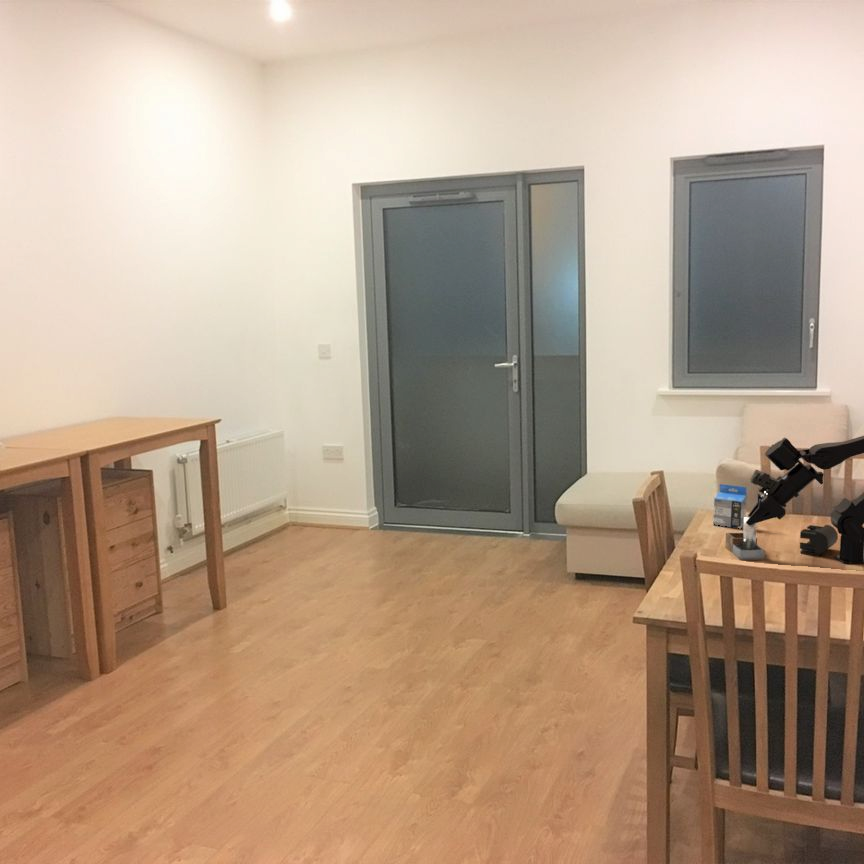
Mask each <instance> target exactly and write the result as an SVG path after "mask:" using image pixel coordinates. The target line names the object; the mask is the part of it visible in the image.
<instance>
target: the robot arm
mask: <svg viewBox="0 0 864 864" xmlns="http://www.w3.org/2000/svg"><path fill="white" fill-rule="evenodd" d="M862 454H864V435H861V436H857V437H855V438H851V439H848V440H845V441H839V442H838V441H837V442H824V443H823V442H822V443H817V444H814V445H812V446H811V447H810V448H807V449H800V450H798V449H797V448H796V447H795V446H794V445H793V444H792V442H791V441H790V440H789V439H788V438H787V437H783V438H782V439H781V440H778V441H776V442H775V443H774V444H771V445H770V447H768V449H766V451H765V453H764V456H765V457H766V458H767V459H768V460H769V461H770V462H772V464H773V465H775V467H776V468H778V469H779V470H780V471H784V470H785V471H787V472H786V473H785V474H784V475H779V476H778V477H776V478H775V477H773V476H772V475H771V474H769V473H767V472H766V471H761V470H759V469H755V470H754V472H753V474H752V476H751V478H750V483H751V484H753V485H755V486H759V488H758V489H757V491H758V492H759V493H761V494H759V493H757V495H756V496H757V501H756V503H755V505H754V506H753V508H752V509H751V511H750V512H749V513H748V515H747V516H750V518H749V519H748V520H747V521H746V523H747V524H748V525H752V524H755V523H756V524H758V523H762V522H764V521H768V520H771V519H778V520H781V519H783V518H784V517H785V516H786V506H787V504H788V503H789V502H791V500H792V499H794V498H797V497H798V496H800V493H801V492H802V491H803V490H804V489H805V488H806V487H808V486H809V485H810V484H811V483H813V482H814V481H815V480H816V481H817V482H818V483H819V484H820V485H823V484H824V472H823V471H817V470H816V469H815V468H814V466H815V467H816V468H817V469H820V470H824V471H825V470H831V469H832V468H834V467H837V466H838V465H840V464H842V463H844V462H845V461H846V460H848V459H850V458H853V457H855V456H858V455H862ZM800 459H801V460H802V461H804V462H806V463H807V464H806V465H805V463H803V462H802V461H801V460H800ZM812 465H813V466H812ZM832 508H833V510H832V512H831V513H830V522H831V523H830V524H832V527H834V528H835V529H837V530H836V531H837V534H838V533H839V535H840V538H839V539H840V543H839V554H836V555H835V554H834V556H833V557H834V558H835V559H837V561H840V562H841V563H843V564H864V526H863V525H864V492H862V493H861V494H860V495H859V496H858V497H856V498H855V499H852V500H850V499H848V498H847V497H844V498H842V500H841V501H840V503H839V504H837V505H836V506H833V507H832Z"/></svg>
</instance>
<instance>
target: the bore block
mask: <svg viewBox="0 0 864 864" xmlns="http://www.w3.org/2000/svg"><path fill="white" fill-rule="evenodd" d="M733 544H743V532H726V533H725V548H726V549H727V550H729V551H730V553H732V554H733ZM756 544H758V538H757V537H756Z"/></svg>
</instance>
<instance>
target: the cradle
mask: <svg viewBox="0 0 864 864" xmlns="http://www.w3.org/2000/svg"><path fill="white" fill-rule="evenodd" d="M732 554H733V555H734V556H735V557H737V559H739V558H740V559H739V560H741V561H745V560H744V559H748V560H749V561H751V560H752V561H753V560H756V561H757V560H758V561H759V560H762V561H763V560H766V558H765V557H766V550H765V549H764V548H763V547H762V546H760V544H758V543H757V544H756V548H753V549H749V548H744V547H743V544H733V553H732Z"/></svg>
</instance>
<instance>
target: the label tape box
mask: <svg viewBox="0 0 864 864" xmlns="http://www.w3.org/2000/svg"><path fill="white" fill-rule="evenodd" d="M732 489H733V490H732ZM734 490H735V491H734ZM736 490H737V491H736ZM747 498H748V495H747V487H746V486H739V485H731V484H723V483H719V492H717V494H716V495H715V497H714V498H713V517H712V524H715V525H714V526H718V525H720V526H719V527H725V526H727V528H731V527H733V528H732V529H738V528H739V530H741V528H742V529H743V523H744V516H747Z"/></svg>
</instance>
